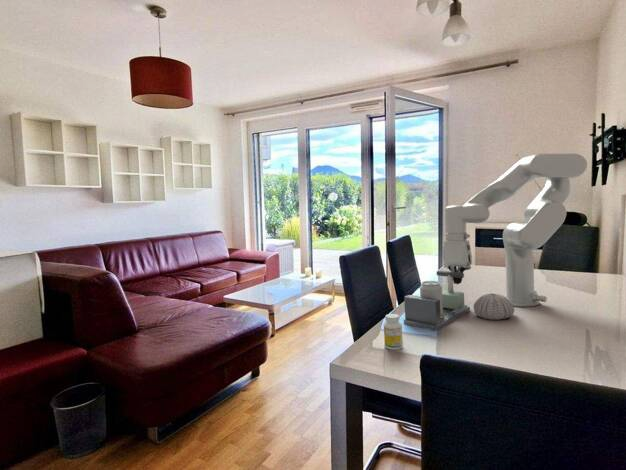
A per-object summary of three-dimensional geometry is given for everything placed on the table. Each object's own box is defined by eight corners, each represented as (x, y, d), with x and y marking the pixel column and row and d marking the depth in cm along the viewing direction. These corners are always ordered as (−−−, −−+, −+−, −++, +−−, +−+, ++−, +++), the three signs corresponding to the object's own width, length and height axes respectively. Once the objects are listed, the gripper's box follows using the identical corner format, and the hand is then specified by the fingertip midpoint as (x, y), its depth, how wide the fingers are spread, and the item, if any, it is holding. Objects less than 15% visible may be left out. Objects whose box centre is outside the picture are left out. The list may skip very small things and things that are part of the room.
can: (422, 318, 129) (420, 284, 128) (420, 312, 136) (418, 280, 135) (444, 318, 127) (443, 284, 126) (441, 311, 134) (440, 279, 133)
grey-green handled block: (465, 305, 139) (464, 272, 137) (458, 309, 134) (457, 275, 133) (441, 302, 146) (439, 269, 145) (433, 305, 142) (431, 272, 141)
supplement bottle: (397, 351, 107) (396, 319, 106) (381, 348, 110) (379, 316, 110) (406, 345, 111) (404, 314, 110) (390, 342, 115) (388, 312, 114)
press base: (470, 310, 139) (469, 286, 138) (435, 330, 121) (433, 302, 120) (440, 305, 148) (439, 282, 147) (403, 323, 130) (402, 297, 129)
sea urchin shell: (474, 321, 128) (473, 298, 127) (472, 309, 140) (472, 289, 140) (517, 323, 123) (516, 299, 122) (512, 311, 135) (511, 289, 135)
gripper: (479, 236, 140) (480, 283, 142) (442, 235, 151) (444, 279, 153) (470, 238, 135) (472, 287, 137) (433, 237, 146) (435, 283, 148)
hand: (457, 283), depth 145 cm, fingers closed
